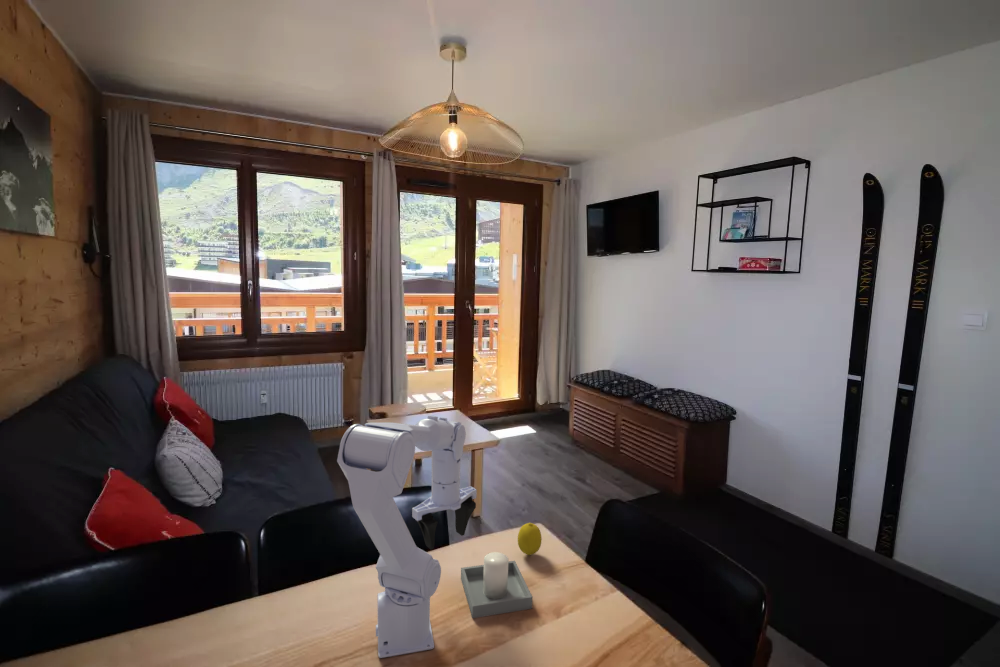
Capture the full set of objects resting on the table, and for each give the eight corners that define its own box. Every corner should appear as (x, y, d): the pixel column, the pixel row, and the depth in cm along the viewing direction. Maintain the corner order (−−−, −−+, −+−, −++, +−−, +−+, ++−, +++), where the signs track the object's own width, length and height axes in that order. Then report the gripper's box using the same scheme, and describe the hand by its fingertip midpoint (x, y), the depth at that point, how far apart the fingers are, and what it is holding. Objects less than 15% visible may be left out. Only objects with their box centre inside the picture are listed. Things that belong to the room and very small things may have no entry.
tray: (472, 618, 93) (472, 606, 93) (460, 578, 105) (461, 567, 104) (531, 608, 96) (532, 597, 96) (514, 571, 108) (514, 560, 107)
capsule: (486, 601, 97) (487, 568, 96) (480, 585, 102) (481, 554, 101) (510, 596, 99) (511, 564, 98) (502, 581, 103) (504, 550, 102)
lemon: (543, 561, 112) (545, 528, 111) (520, 563, 111) (521, 530, 109) (536, 547, 117) (538, 515, 116) (514, 549, 116) (515, 517, 115)
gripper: (426, 496, 91) (426, 563, 93) (486, 475, 100) (484, 535, 102) (406, 482, 96) (406, 546, 98) (465, 463, 105) (464, 521, 108)
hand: (445, 539), depth 101 cm, fingers open, 7 cm apart
